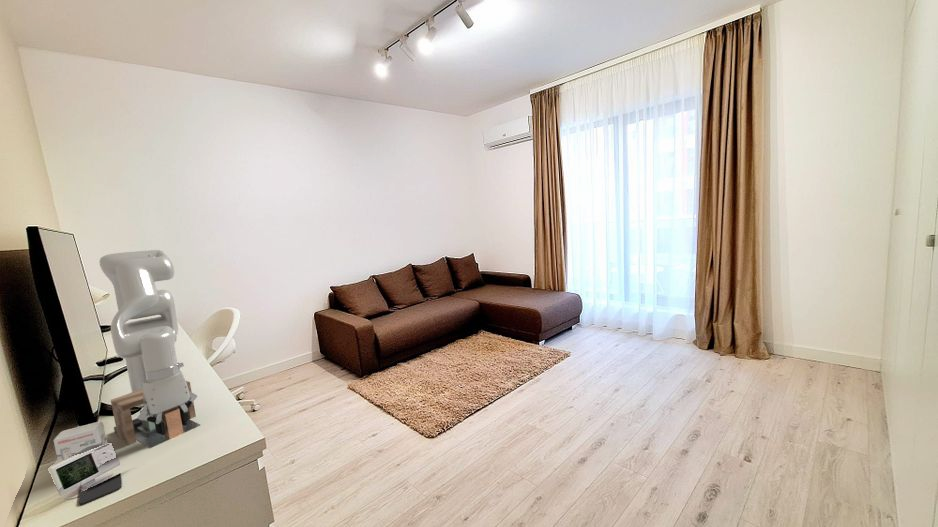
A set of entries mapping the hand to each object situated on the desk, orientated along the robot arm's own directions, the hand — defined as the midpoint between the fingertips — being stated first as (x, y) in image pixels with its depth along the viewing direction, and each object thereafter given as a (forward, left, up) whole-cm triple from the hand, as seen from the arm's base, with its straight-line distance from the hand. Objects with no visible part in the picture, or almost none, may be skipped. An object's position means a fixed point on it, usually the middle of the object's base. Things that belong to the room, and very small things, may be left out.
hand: (173, 428), depth 110 cm
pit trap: (-19, 0, -3) cm, 20 cm away
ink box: (-6, -18, -4) cm, 19 cm away
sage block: (-12, 0, -2) cm, 12 cm away
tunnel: (-12, 0, -3) cm, 12 cm away
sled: (-7, 0, -3) cm, 8 cm away
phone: (+6, -18, -4) cm, 19 cm away
